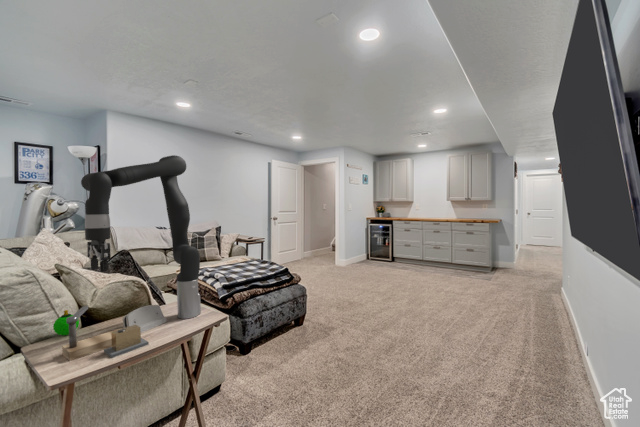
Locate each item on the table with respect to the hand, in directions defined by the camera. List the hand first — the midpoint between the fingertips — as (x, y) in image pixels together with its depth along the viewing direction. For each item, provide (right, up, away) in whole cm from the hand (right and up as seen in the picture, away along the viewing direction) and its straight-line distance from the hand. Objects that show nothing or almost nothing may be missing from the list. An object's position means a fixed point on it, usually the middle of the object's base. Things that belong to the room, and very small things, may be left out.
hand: (99, 270), depth 110 cm
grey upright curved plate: (+6, -28, +18) cm, 34 cm away
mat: (+11, -29, -1) cm, 31 cm away
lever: (-7, -17, 0) cm, 18 cm away
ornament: (-22, -29, +12) cm, 38 cm away
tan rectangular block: (+11, -28, -1) cm, 30 cm away
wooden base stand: (0, -29, 0) cm, 29 cm away
